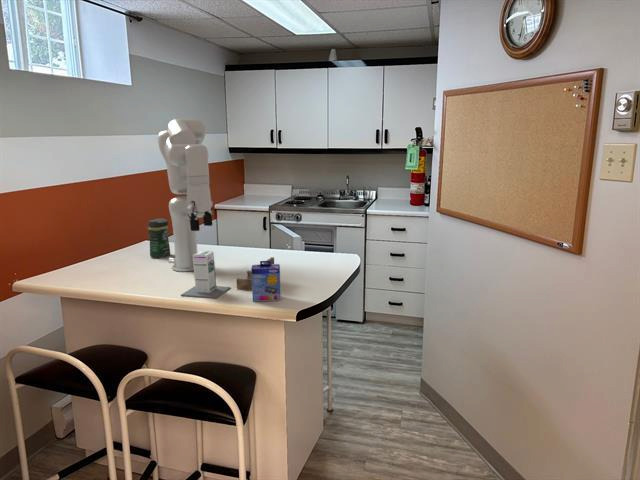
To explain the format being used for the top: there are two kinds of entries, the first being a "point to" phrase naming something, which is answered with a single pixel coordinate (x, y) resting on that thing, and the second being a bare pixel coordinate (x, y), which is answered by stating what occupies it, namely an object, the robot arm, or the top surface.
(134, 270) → the top surface
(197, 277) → the syrup box
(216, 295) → the grey mat
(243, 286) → the stair flight
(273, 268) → the ink cartridge box
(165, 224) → the coffee jar
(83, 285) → the top surface
